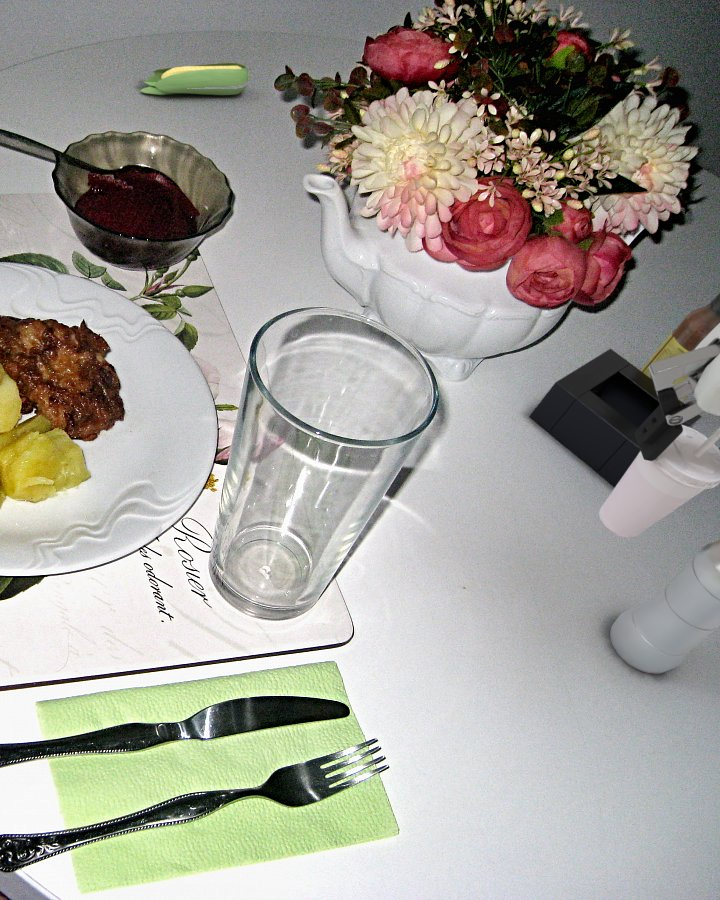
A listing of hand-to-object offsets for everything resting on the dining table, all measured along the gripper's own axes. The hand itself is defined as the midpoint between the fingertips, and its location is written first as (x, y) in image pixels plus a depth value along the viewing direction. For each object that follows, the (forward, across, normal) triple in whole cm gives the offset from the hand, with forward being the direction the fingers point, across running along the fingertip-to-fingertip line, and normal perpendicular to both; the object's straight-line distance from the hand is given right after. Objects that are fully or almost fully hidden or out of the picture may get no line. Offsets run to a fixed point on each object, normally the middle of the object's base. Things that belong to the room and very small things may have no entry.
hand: (685, 455), depth 73 cm
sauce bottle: (+25, +23, +37) cm, 50 cm away
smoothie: (+9, 0, 0) cm, 9 cm away
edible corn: (+25, -41, +91) cm, 103 cm away
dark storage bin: (+25, +14, +28) cm, 40 cm away
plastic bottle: (+25, +10, -3) cm, 27 cm away
